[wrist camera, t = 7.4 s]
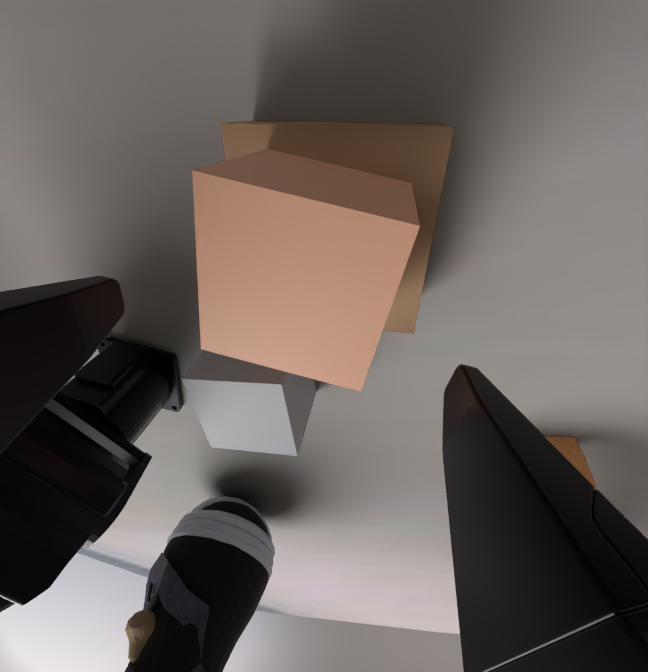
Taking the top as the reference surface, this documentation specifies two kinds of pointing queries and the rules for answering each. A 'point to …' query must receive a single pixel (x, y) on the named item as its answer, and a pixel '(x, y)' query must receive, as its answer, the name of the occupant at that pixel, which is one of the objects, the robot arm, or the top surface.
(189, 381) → the slate cube
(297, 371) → the terracotta cube
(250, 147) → the walnut slab
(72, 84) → the top surface
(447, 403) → the robot arm
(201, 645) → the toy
